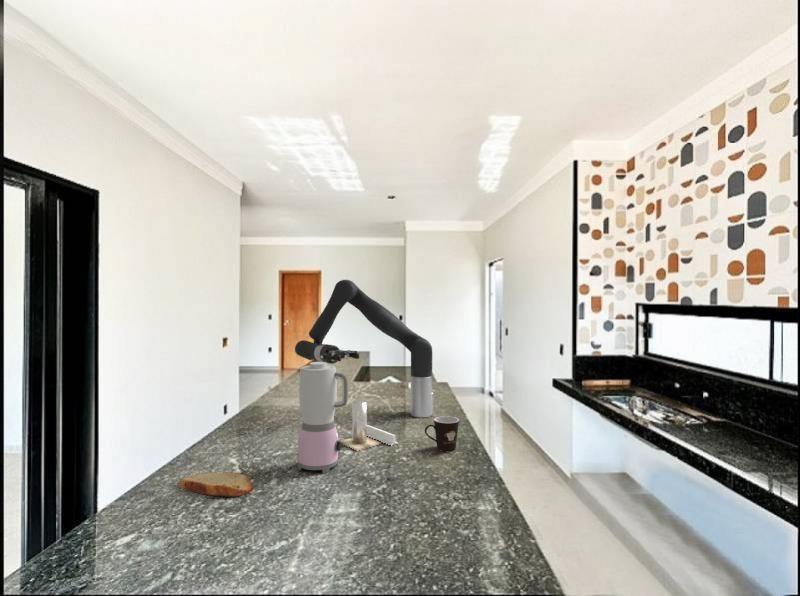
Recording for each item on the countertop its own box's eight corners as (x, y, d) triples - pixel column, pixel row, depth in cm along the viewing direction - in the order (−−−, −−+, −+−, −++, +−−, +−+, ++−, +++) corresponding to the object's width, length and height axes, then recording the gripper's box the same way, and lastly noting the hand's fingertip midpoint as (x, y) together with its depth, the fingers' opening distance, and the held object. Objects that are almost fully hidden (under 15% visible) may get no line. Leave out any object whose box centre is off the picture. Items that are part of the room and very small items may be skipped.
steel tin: (361, 438, 168) (361, 399, 168) (369, 441, 164) (369, 402, 164) (349, 441, 164) (349, 401, 164) (357, 444, 160) (357, 404, 160)
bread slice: (178, 483, 131) (177, 470, 131) (244, 472, 140) (244, 459, 139) (181, 510, 115) (181, 495, 115) (255, 495, 124) (255, 481, 124)
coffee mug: (458, 444, 163) (458, 416, 163) (459, 453, 155) (459, 423, 155) (425, 443, 164) (425, 415, 164) (424, 452, 156) (424, 422, 156)
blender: (290, 472, 138) (290, 365, 138) (306, 458, 150) (306, 359, 150) (341, 476, 135) (341, 367, 135) (353, 461, 147) (353, 361, 147)
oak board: (362, 437, 171) (362, 435, 171) (380, 444, 163) (380, 442, 163) (339, 443, 165) (339, 440, 165) (357, 451, 157) (357, 449, 157)
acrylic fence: (367, 432, 177) (367, 423, 177) (397, 444, 164) (397, 434, 164) (360, 434, 175) (360, 424, 175) (391, 446, 162) (391, 436, 162)
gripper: (311, 346, 187) (333, 349, 174) (341, 342, 196) (364, 345, 184) (312, 364, 187) (334, 369, 174) (341, 360, 196) (364, 364, 184)
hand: (349, 357), depth 179 cm, fingers open, 8 cm apart
